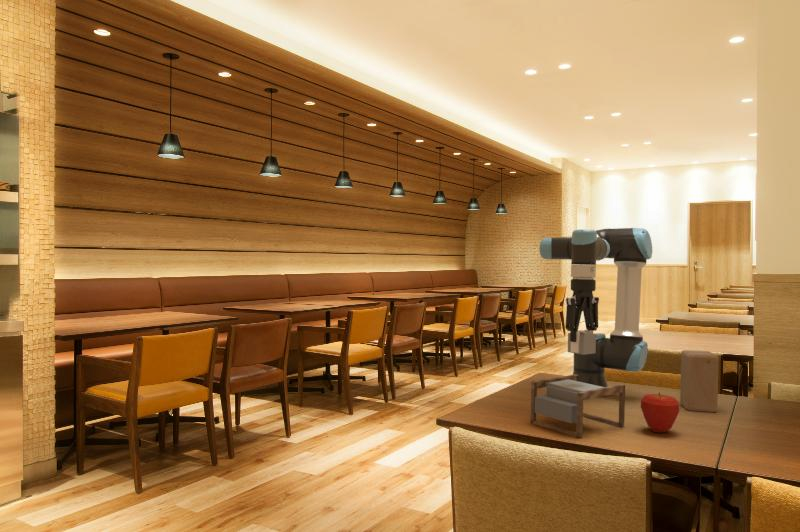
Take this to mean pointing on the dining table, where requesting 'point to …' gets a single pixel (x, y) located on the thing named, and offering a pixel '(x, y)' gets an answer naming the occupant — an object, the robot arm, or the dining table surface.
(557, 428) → the wooden rack
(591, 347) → the stone
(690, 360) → the wooden block
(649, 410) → the apple
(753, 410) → the dining table surface
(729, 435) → the dining table surface
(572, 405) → the grey angular block
